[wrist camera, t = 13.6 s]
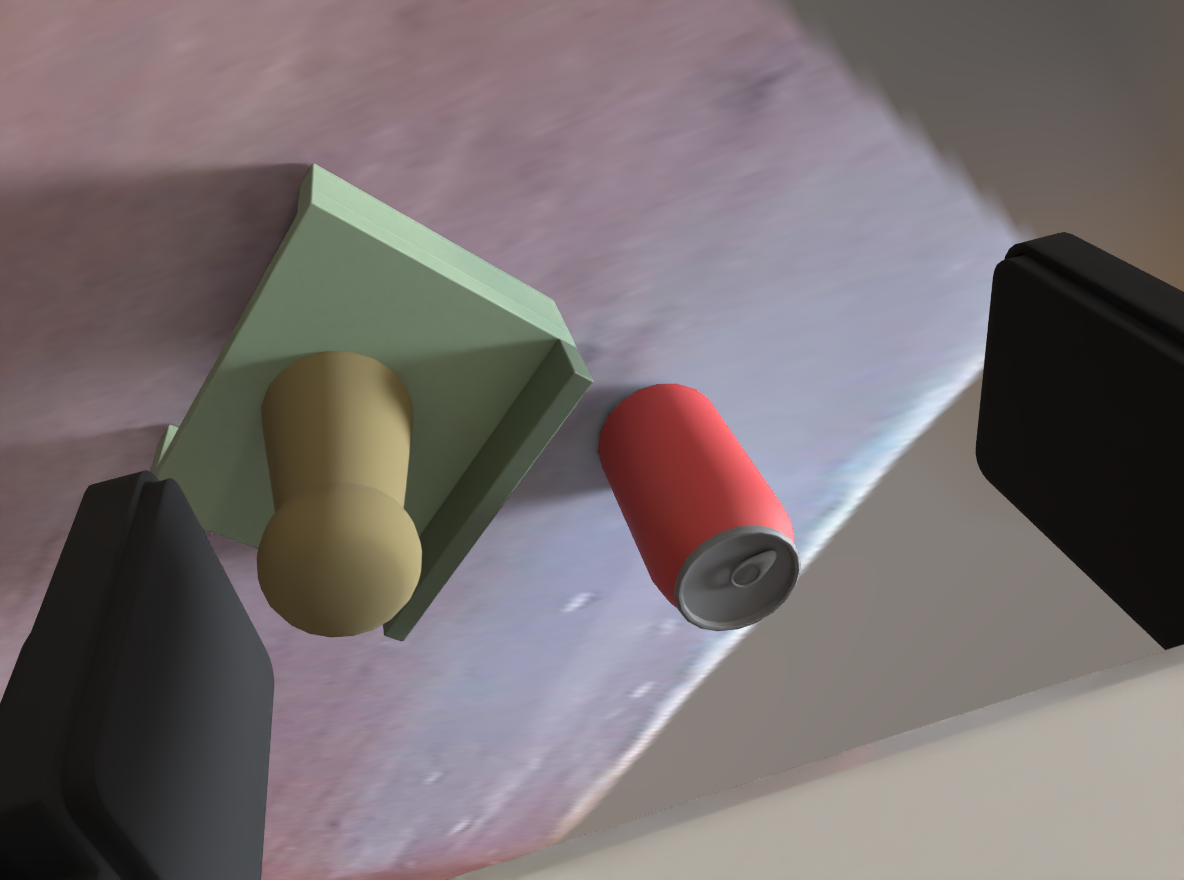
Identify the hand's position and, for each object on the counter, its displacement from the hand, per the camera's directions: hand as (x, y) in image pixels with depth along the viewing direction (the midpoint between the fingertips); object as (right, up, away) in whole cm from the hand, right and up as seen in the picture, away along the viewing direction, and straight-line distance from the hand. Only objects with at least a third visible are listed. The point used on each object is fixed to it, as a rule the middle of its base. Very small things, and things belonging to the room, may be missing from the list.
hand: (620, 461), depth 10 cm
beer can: (+3, +1, +38) cm, 38 cm away
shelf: (-11, +3, +32) cm, 34 cm away
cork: (-11, +1, +27) cm, 29 cm away
